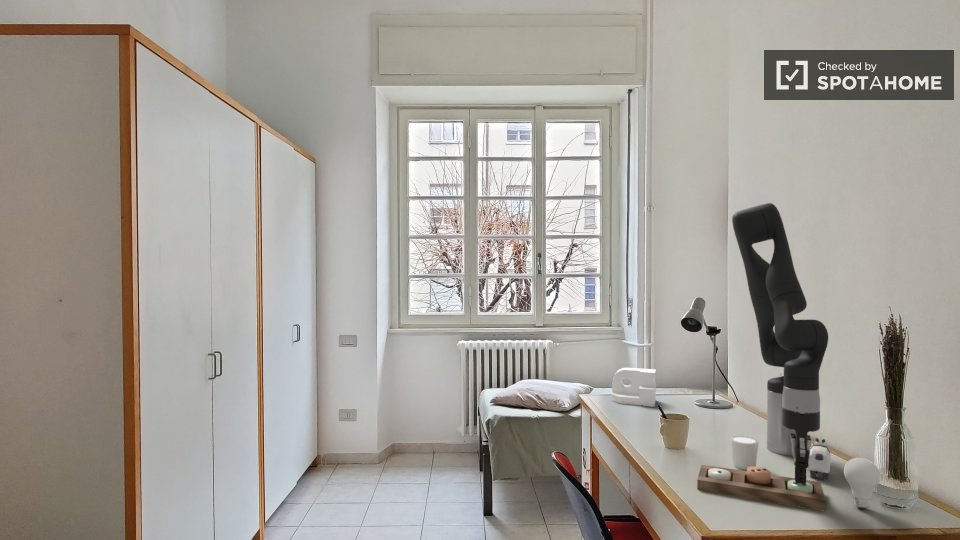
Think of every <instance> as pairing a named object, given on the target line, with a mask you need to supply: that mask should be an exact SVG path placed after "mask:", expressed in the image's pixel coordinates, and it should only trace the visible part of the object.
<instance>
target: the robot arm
mask: <svg viewBox="0 0 960 540" xmlns="http://www.w3.org/2000/svg"><path fill="white" fill-rule="evenodd" d="M731 222H732V228H733V230H734V236H735V239H736V242H737V245H738V249H739V253H740V256H741V258H742V262H743V266H744V269H745V270H744V271H745V275H746V281H747V286H748V292H749V296H750V300H751V304H752V307H753V311H754V315H755V320H756V323H757V331H758V339H759V346H760V352H761V353H760V354H761V356H762V360H763V362H764V363H765V364H766V365H768V366H772V367H778V368H783V376H778V377H777V376H776V377H772V378H770V379H768V380H767V384H766V385H767V386H766V387H767V388H766V389H767V390H766V391H767V392H766V394H767V395H766V400H767V401H766V404H767V405H766V407H767V408H766V415H767V416H766V449H767V450H769V451H770V452H772V453H775V454H778V455H782V456H783V455H784V456H792V457H793V465H794V478H795V482H796V483H800V484H806V480H807V469H809V465H808V463H809V458H810V449H811V447H812V438H811V435H809V434H808V433H810V432H812V433H813V432H815V433H816V432H817V431H818V432H819V430H820V429H821V395H820V389H819V388H820V370H821V367H822V363H823V359H824V356H825V353H826V350H827V347H828V344H829V333H828V330H827V326H825V324H824V323H823V322H822V321H820V320H818V319H795V318H794V316H795V315H797V314H800V313H802V312H803V311H805V310H806V309H807V305H808V303H807V299H806V296H805V294H804V291H803V289H802V287H801V283H800V281H799V279H798V276H797V272H796V270H795V269H796V268H795V267H794V262H793V258H792V253H791V252H792V251H791V248H790V245H789V240H788V238H787V236H788V235H787V233H786V230H785V226H784V222H783V219H782V216H781V213H780V212H779V209H778V208H777V206H776V205H775V204H774V203H772V202H768V203H767V202H766V203H763V204H760V205H755V206H751V207H748V208H745V209H741V210H737V211H735V212H734V213H733V214H732V219H731ZM769 240H772V241H773V254H772V258H771V260H770V263H769V262H768V261H766V260H765V259H764V258H763V257H762V256H761V255H760V254H758V252H757V251H756V250H755V248H754V247H753V245H754V244H758V243H761V242H765V241H769Z"/></svg>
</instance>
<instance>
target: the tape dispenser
mask: <svg viewBox="0 0 960 540" xmlns="http://www.w3.org/2000/svg"><path fill="white" fill-rule="evenodd" d="M656 372H657V369H654V368H641V367H640V368H639V367H637V368H636V367H621V368H620V369H618V370H617V371H616V372H615V373H614V375H613V377H612V383H611V397H610V398H611V399H610V401H612V402H615V403H618V404H620V405H631V406H632V405H633V406H641V405H643V407H653V408H654V407H656V401H657V400H656V398H657V397H656V395H657V393H656V392H657V390H656V389H657V377H656V376H657V374H656ZM623 380H628V381H629V382H630V384H629V385H626V384H624V382H623Z"/></svg>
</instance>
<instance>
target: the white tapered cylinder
mask: <svg viewBox="0 0 960 540" xmlns="http://www.w3.org/2000/svg"><path fill="white" fill-rule="evenodd" d="M729 441H730V454H731V465H732V466H733V467H735V468H736V469H737V468H738V469H739V470H740V469H741V470H744V471H747V468H748V467H751V466H756V467H757V459H758V451H759V450H758V449H759V440H757V439H755V438H753V437H749V436H742V435H739V436H738V435H737V436H731V437H730V438H729Z"/></svg>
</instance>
